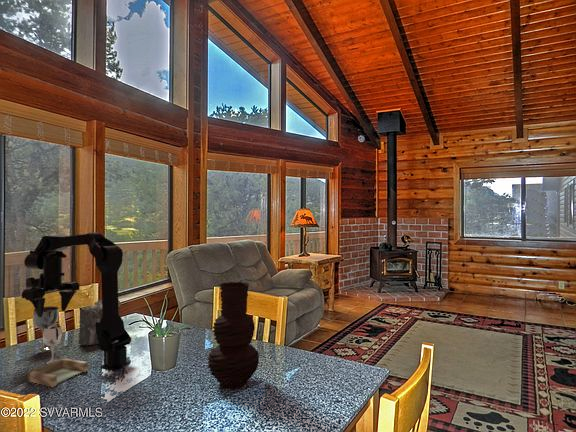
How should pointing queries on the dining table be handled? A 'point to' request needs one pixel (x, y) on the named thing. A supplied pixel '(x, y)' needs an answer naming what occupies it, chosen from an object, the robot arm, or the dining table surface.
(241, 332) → the vase
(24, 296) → the robot arm
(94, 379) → the dining table surface
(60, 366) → the u rest
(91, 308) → the rock
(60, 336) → the wineglass
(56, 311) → the wine glass
